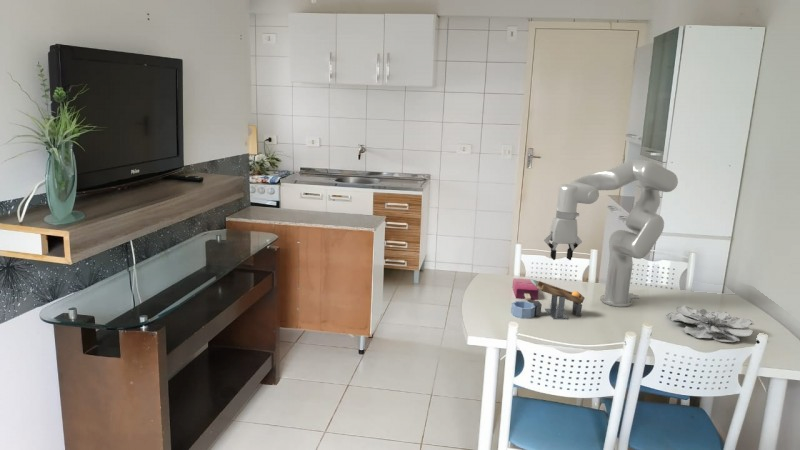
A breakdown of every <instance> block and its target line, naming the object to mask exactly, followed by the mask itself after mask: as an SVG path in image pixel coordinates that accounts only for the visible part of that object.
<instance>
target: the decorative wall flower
mask: <svg viewBox="0 0 800 450" xmlns="http://www.w3.org/2000/svg"><path fill="white" fill-rule="evenodd" d="M676 312H678V313H673V312H670V313H668V314H667V315H666V314H665V315H666V316H667V318H668V319H670V321H671V322H680V323H686V324H689V325H695V327H692V326H687V325H685V327H684V328H683V333H685V334H690V336H692V337H694V338H696V339H713V340H715V341H717V342H721V343H735V342H740V341H741V340H740V338H739V337H741V338H745V337H750V336H751V335H753V334H754V330H752V329H750V328H749V326H752V325H755V323H754V321H753V320H751V319H749V318H742V317H741V318H740V317H736V316H733V317H732V316H730V313H729V312H726V311H719V310H718V311H712V312H710V311H708V310H707V309H704V308H703V309H699V310H698V309H695V308H694V309H693V308H691V307H688V306H687V305H684V304H683V305H681V306H679V307H676Z"/></svg>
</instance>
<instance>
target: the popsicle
mask: <svg viewBox="0 0 800 450" xmlns="http://www.w3.org/2000/svg"><path fill="white" fill-rule="evenodd" d="M531 279H532V278H520V277H517V278H516V277H512V287H511V288H512V291H513V295H514V297H515V299H519V300H528V301H531V300H532V301H538V299H539V289H538V288H537V286H535V285H534V283H533V282H532V281H531Z"/></svg>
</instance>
